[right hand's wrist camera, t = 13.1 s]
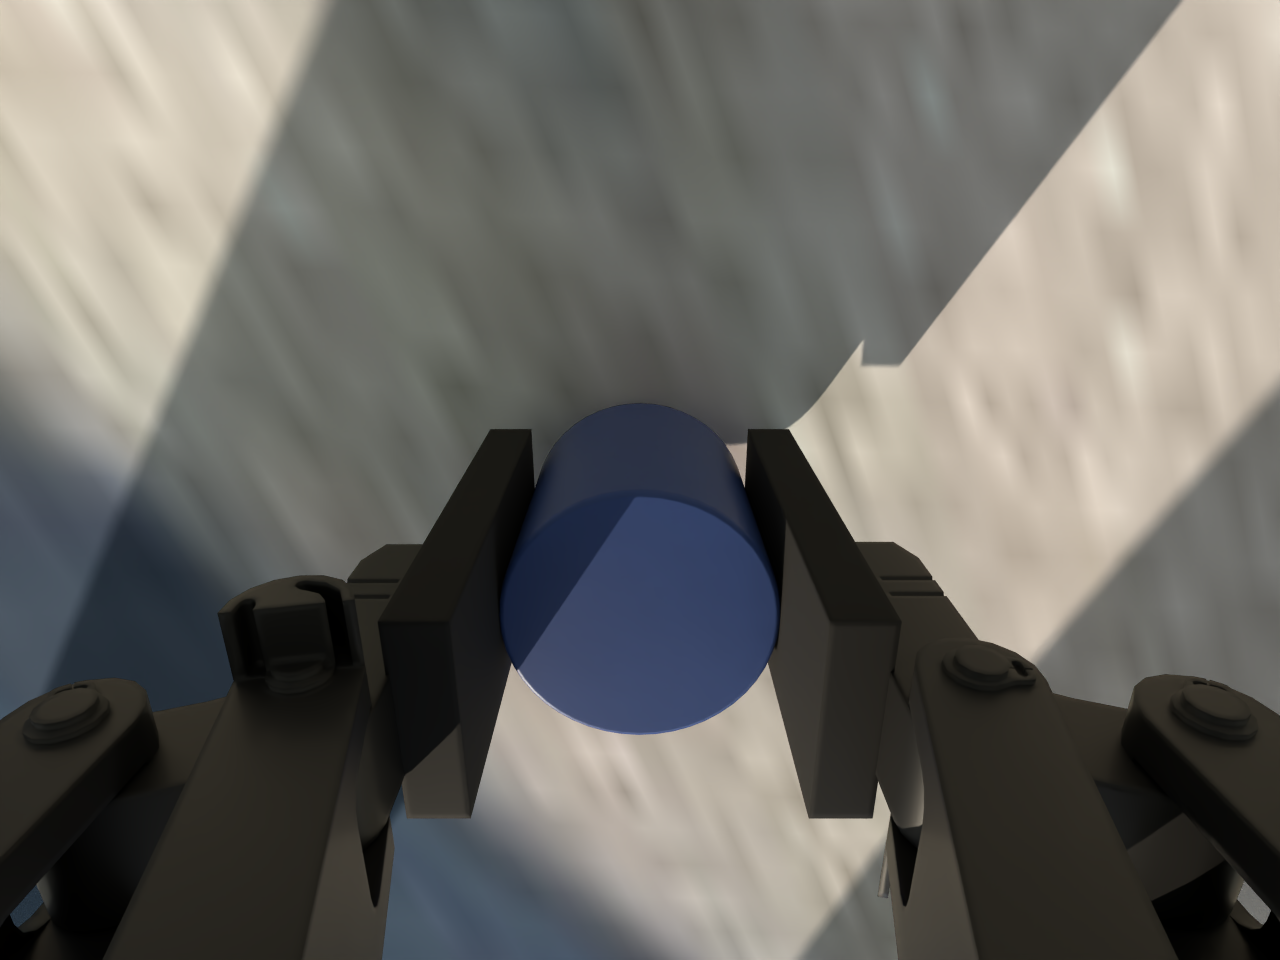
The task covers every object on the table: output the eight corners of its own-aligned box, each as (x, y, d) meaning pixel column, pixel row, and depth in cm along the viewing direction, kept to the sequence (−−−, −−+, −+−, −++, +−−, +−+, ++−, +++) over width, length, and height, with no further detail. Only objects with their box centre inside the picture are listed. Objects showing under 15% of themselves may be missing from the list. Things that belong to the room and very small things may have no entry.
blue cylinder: (494, 500, 15) (438, 621, 11) (641, 358, 14) (641, 430, 10) (638, 626, 16) (638, 780, 12) (785, 502, 15) (840, 623, 11)
